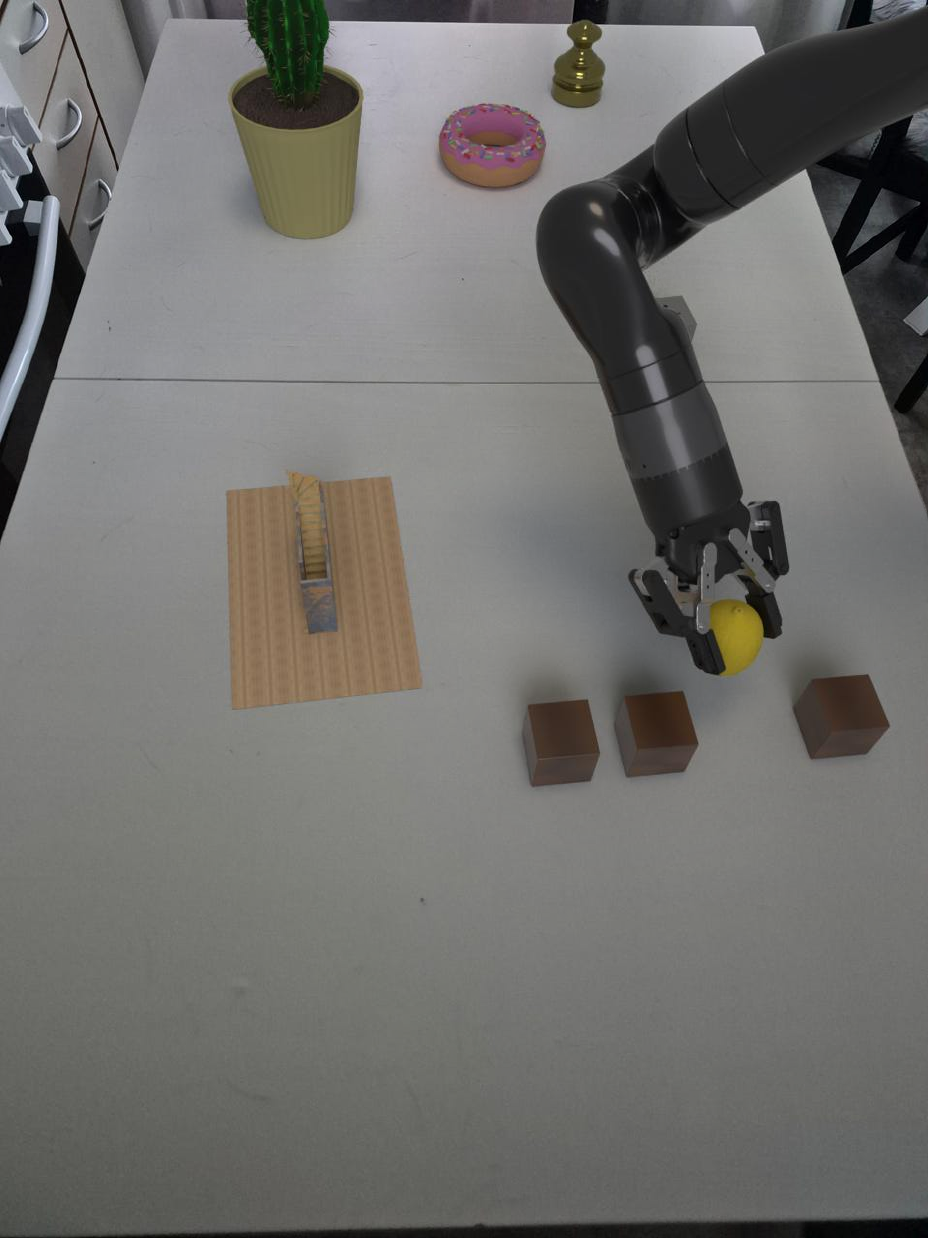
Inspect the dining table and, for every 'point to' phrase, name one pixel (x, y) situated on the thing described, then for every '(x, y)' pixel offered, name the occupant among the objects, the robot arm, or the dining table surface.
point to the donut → (492, 127)
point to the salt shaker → (579, 68)
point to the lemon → (736, 633)
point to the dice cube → (680, 311)
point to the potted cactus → (298, 120)
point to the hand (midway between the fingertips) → (743, 652)
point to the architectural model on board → (317, 593)
